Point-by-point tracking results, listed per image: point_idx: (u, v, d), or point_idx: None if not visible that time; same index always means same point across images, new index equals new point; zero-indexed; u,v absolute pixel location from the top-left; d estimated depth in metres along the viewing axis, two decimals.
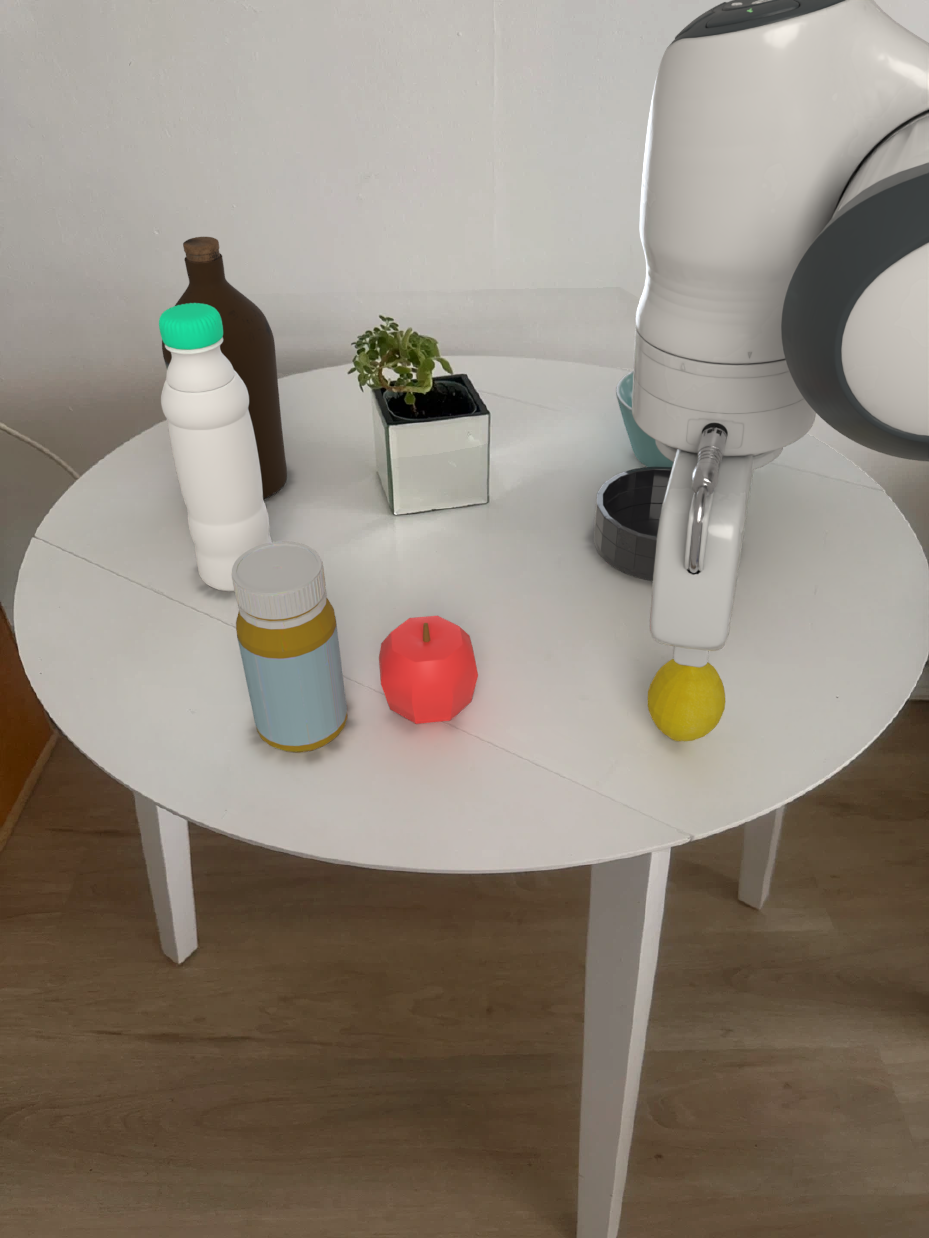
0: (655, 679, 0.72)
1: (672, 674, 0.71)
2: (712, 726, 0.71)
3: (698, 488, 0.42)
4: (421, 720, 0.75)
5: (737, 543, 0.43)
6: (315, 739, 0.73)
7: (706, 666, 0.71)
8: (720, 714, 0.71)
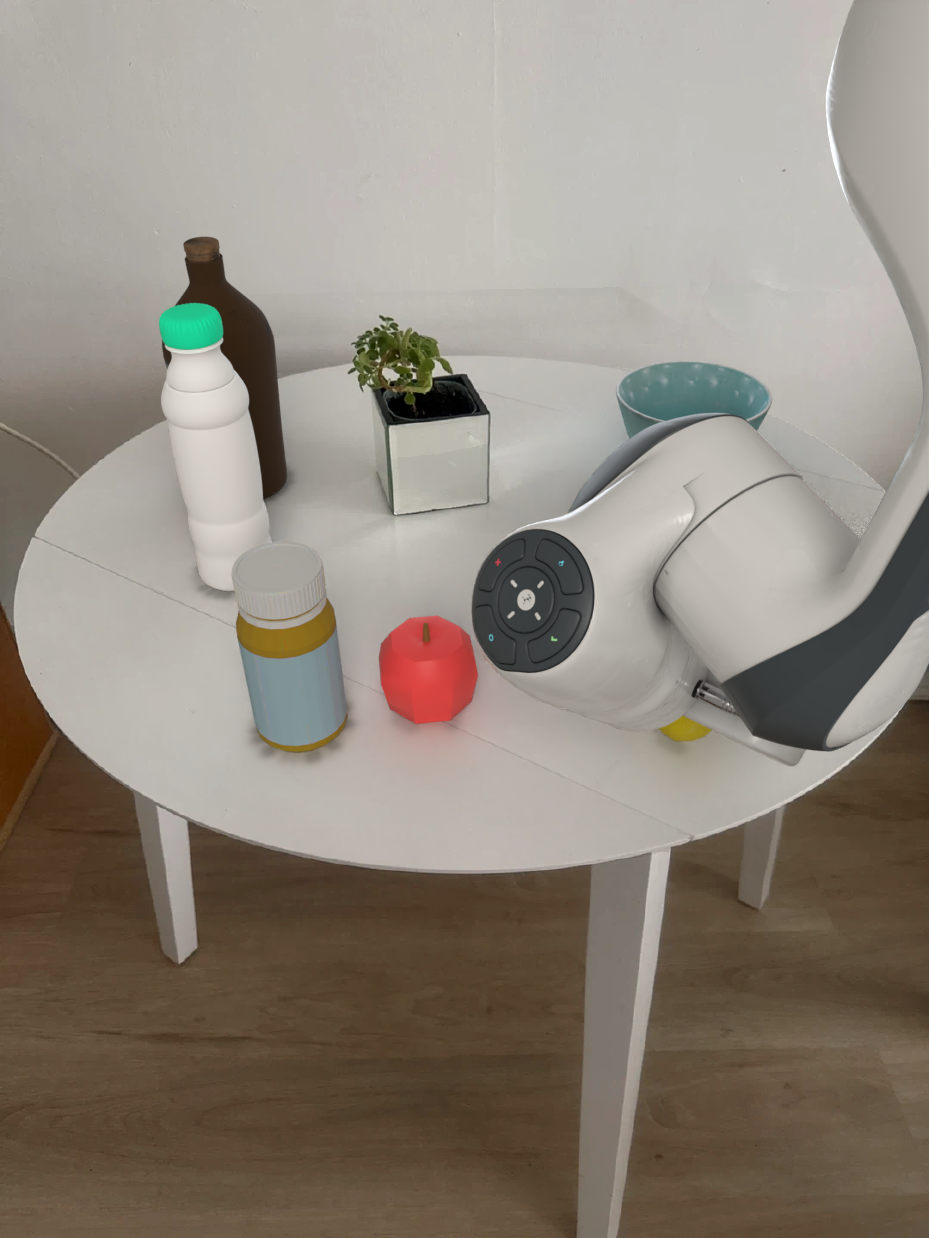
0: None
1: None
2: None
3: None
4: (421, 720, 0.75)
5: None
6: (315, 739, 0.73)
7: None
8: None
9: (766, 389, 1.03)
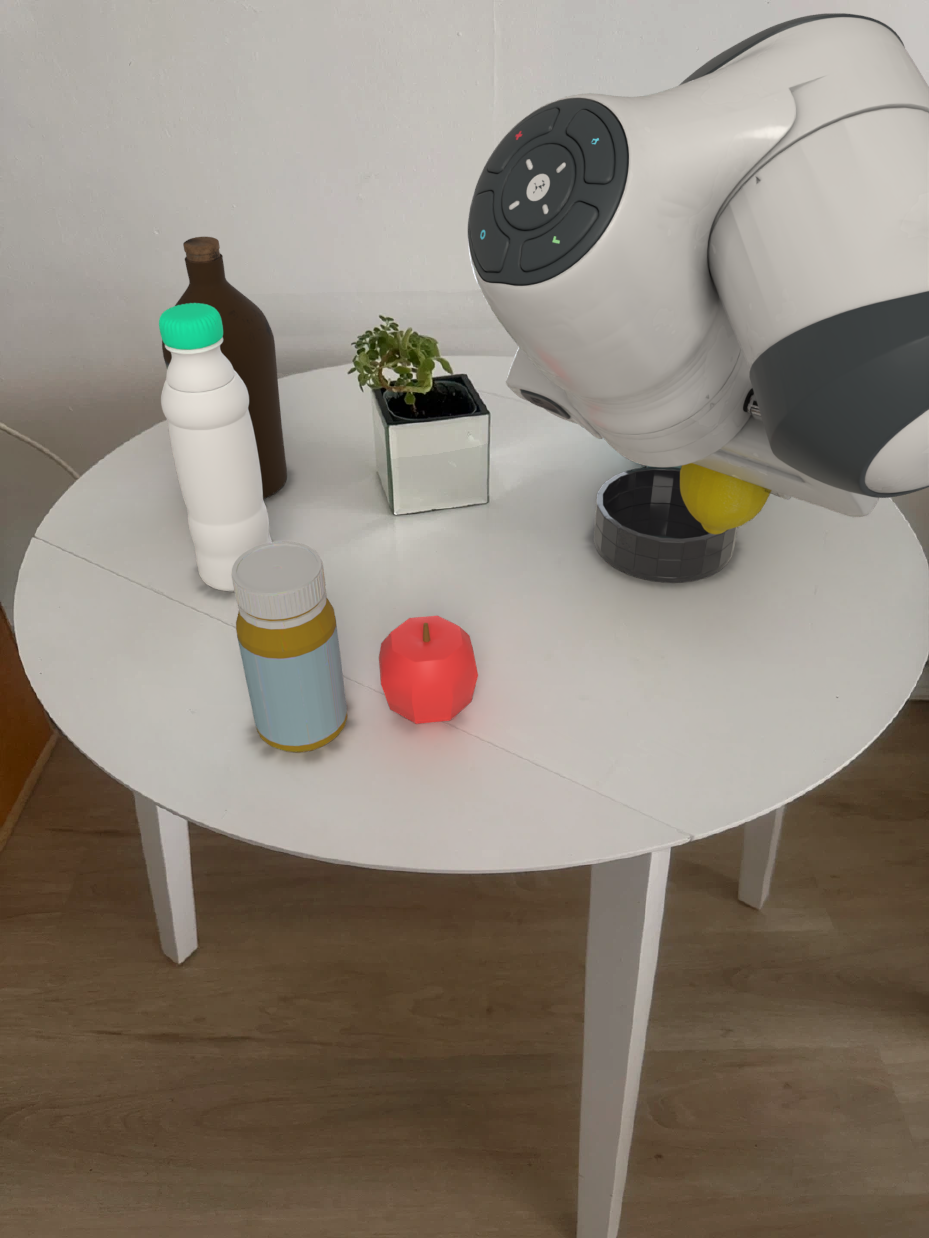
0: None
1: None
2: (758, 505, 0.60)
3: None
4: (421, 720, 0.75)
5: None
6: (315, 739, 0.73)
7: None
8: None
9: None
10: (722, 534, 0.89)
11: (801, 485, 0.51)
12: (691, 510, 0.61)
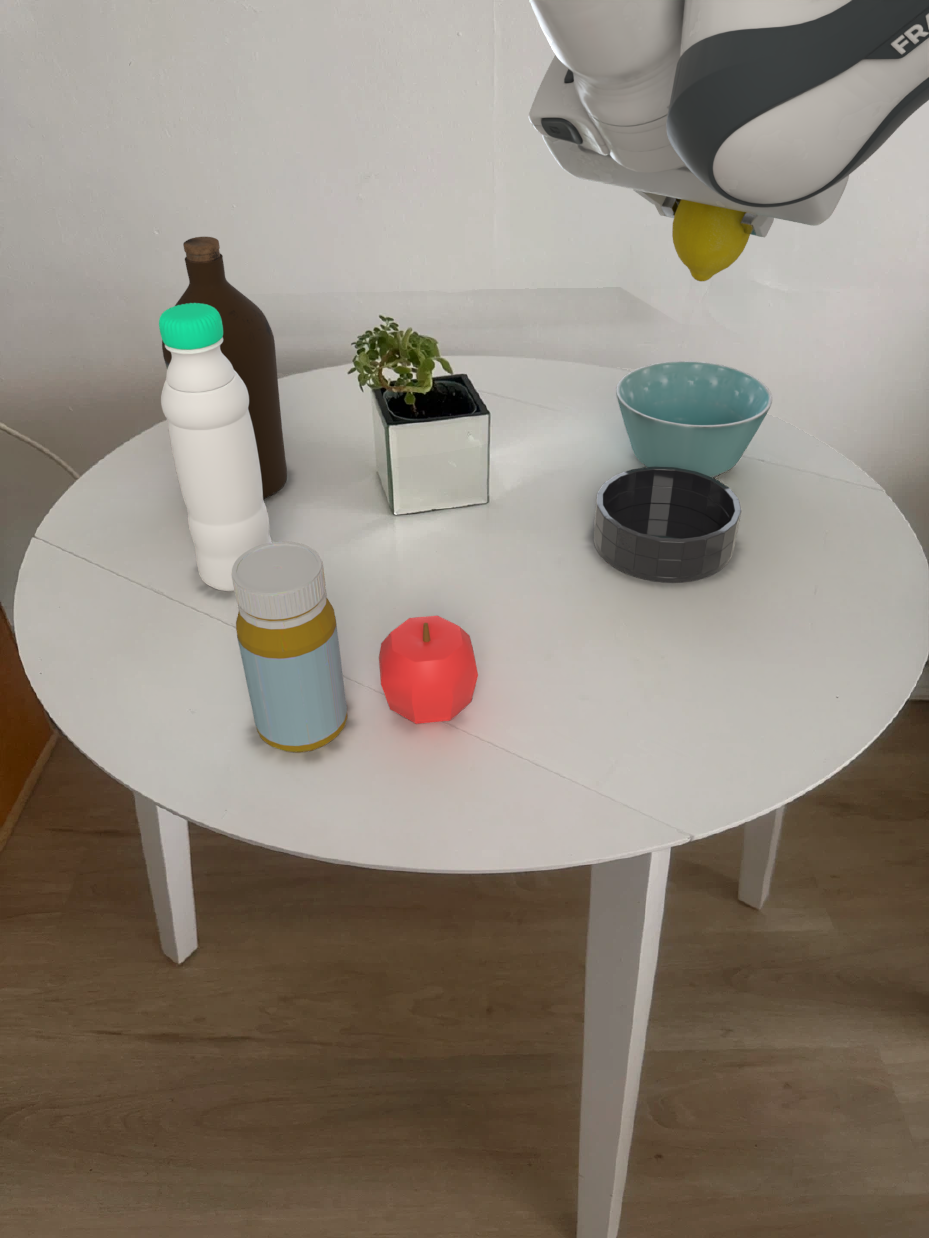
0: (680, 202, 0.71)
1: None
2: (738, 245, 0.71)
3: None
4: (421, 720, 0.75)
5: None
6: (315, 739, 0.73)
7: None
8: None
9: (766, 389, 1.03)
10: (722, 534, 0.89)
11: None
12: (682, 254, 0.72)
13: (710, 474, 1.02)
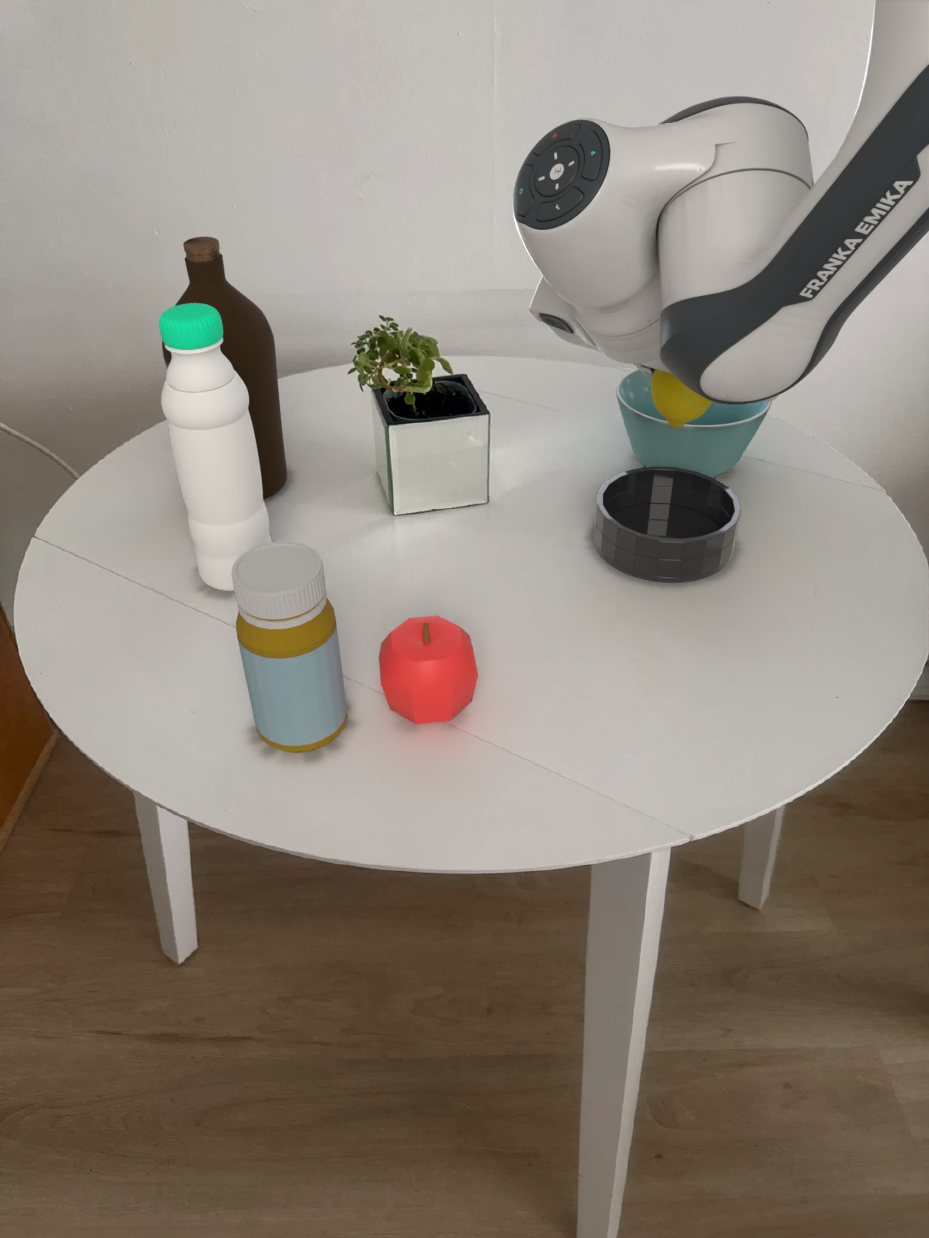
0: None
1: None
2: (706, 403, 0.84)
3: None
4: (421, 720, 0.75)
5: None
6: (315, 739, 0.73)
7: None
8: None
9: None
10: (722, 534, 0.89)
11: None
12: (658, 408, 0.85)
13: (710, 474, 1.02)
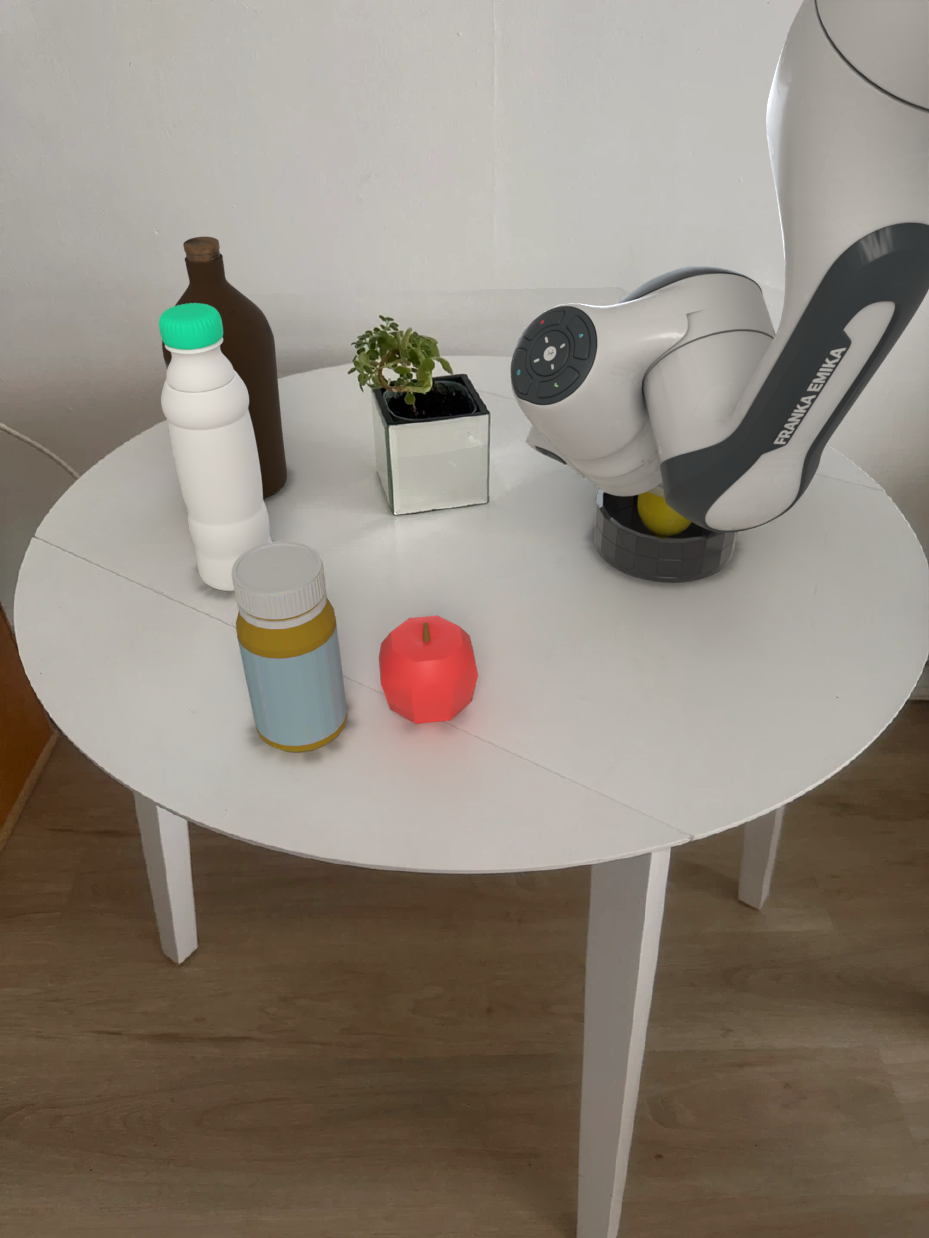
0: None
1: None
2: (688, 520, 0.91)
3: None
4: (421, 720, 0.75)
5: None
6: (315, 739, 0.73)
7: None
8: None
9: None
10: (722, 534, 0.89)
11: None
12: (645, 523, 0.93)
13: None
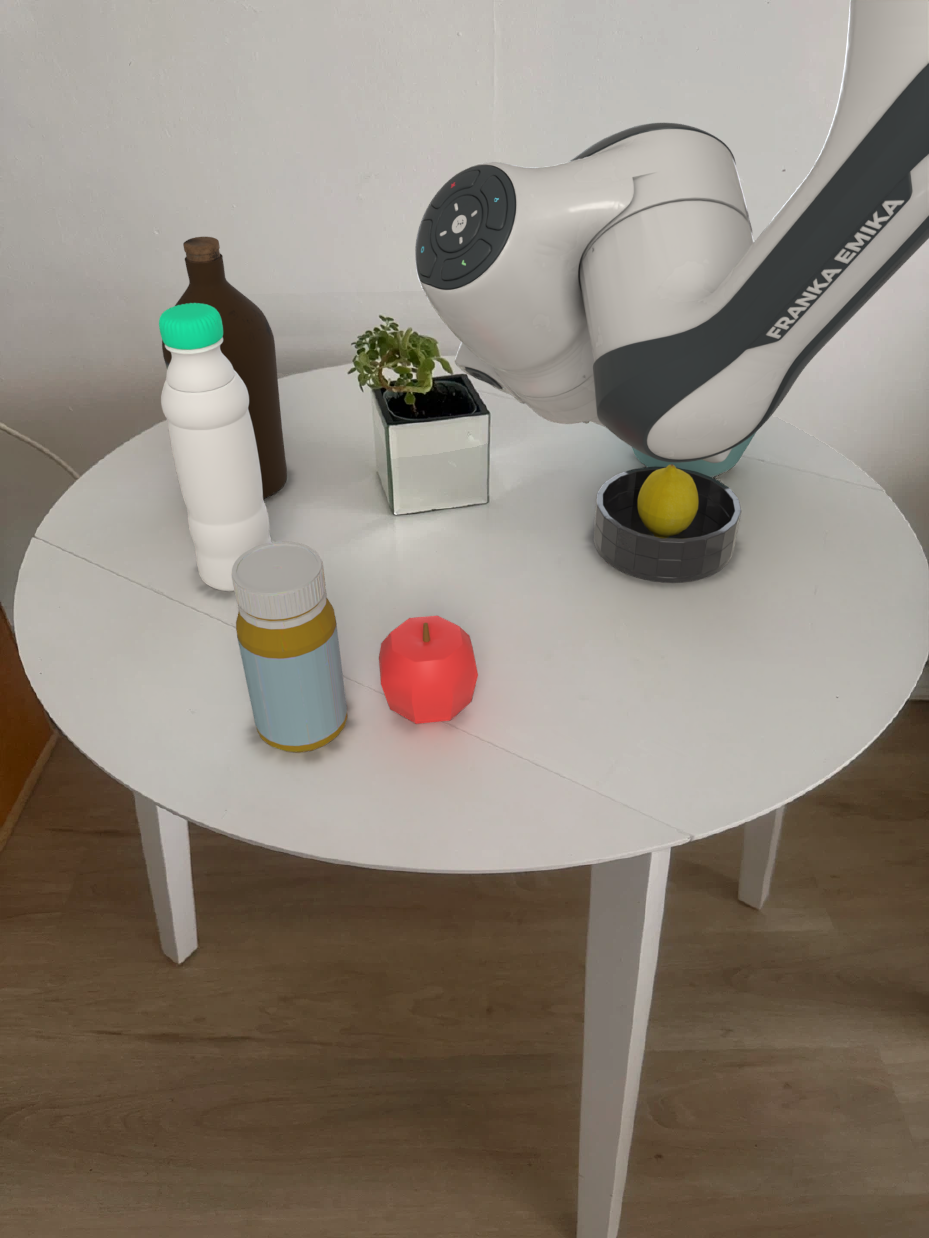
0: (643, 485, 0.92)
1: (656, 478, 0.91)
2: (688, 520, 0.91)
3: None
4: (421, 720, 0.75)
5: None
6: (315, 739, 0.73)
7: (683, 473, 0.91)
8: (694, 511, 0.91)
9: None
10: (722, 534, 0.89)
11: None
12: (645, 523, 0.93)
13: (710, 474, 1.02)
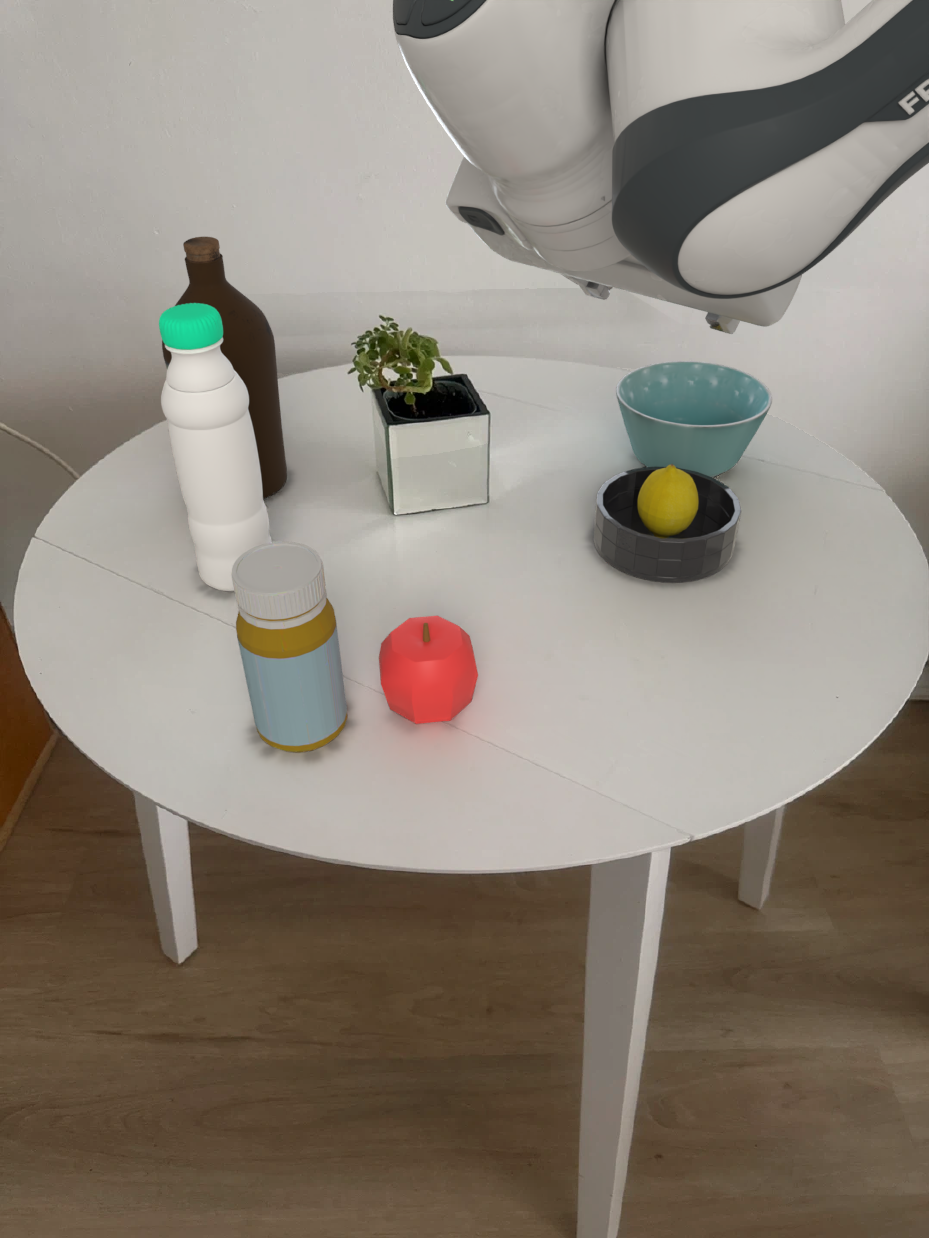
0: (643, 485, 0.92)
1: (656, 478, 0.91)
2: (688, 520, 0.91)
3: None
4: (421, 720, 0.75)
5: None
6: (315, 739, 0.73)
7: (683, 473, 0.91)
8: (694, 511, 0.91)
9: (766, 389, 1.03)
10: (722, 534, 0.89)
11: None
12: (645, 523, 0.93)
13: (710, 474, 1.02)
